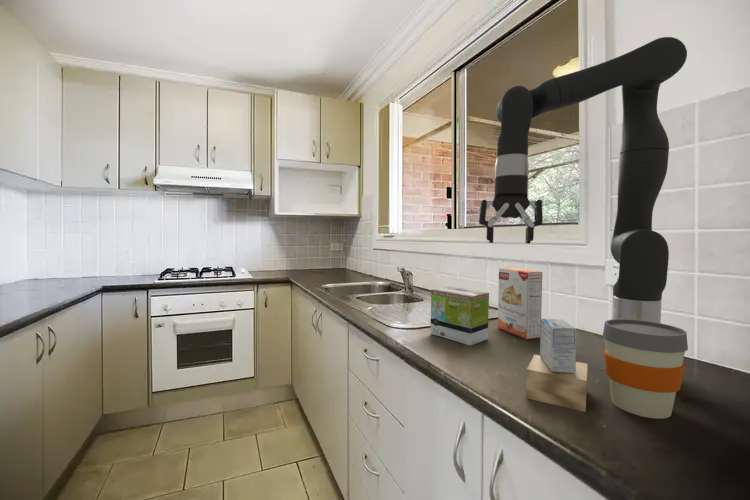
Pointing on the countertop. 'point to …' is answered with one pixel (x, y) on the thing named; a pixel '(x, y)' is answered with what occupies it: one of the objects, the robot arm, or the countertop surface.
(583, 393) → the oak block
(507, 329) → the cracker box
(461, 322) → the tea box
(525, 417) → the countertop surface
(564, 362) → the medicine box
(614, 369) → the reusable coffee cup
